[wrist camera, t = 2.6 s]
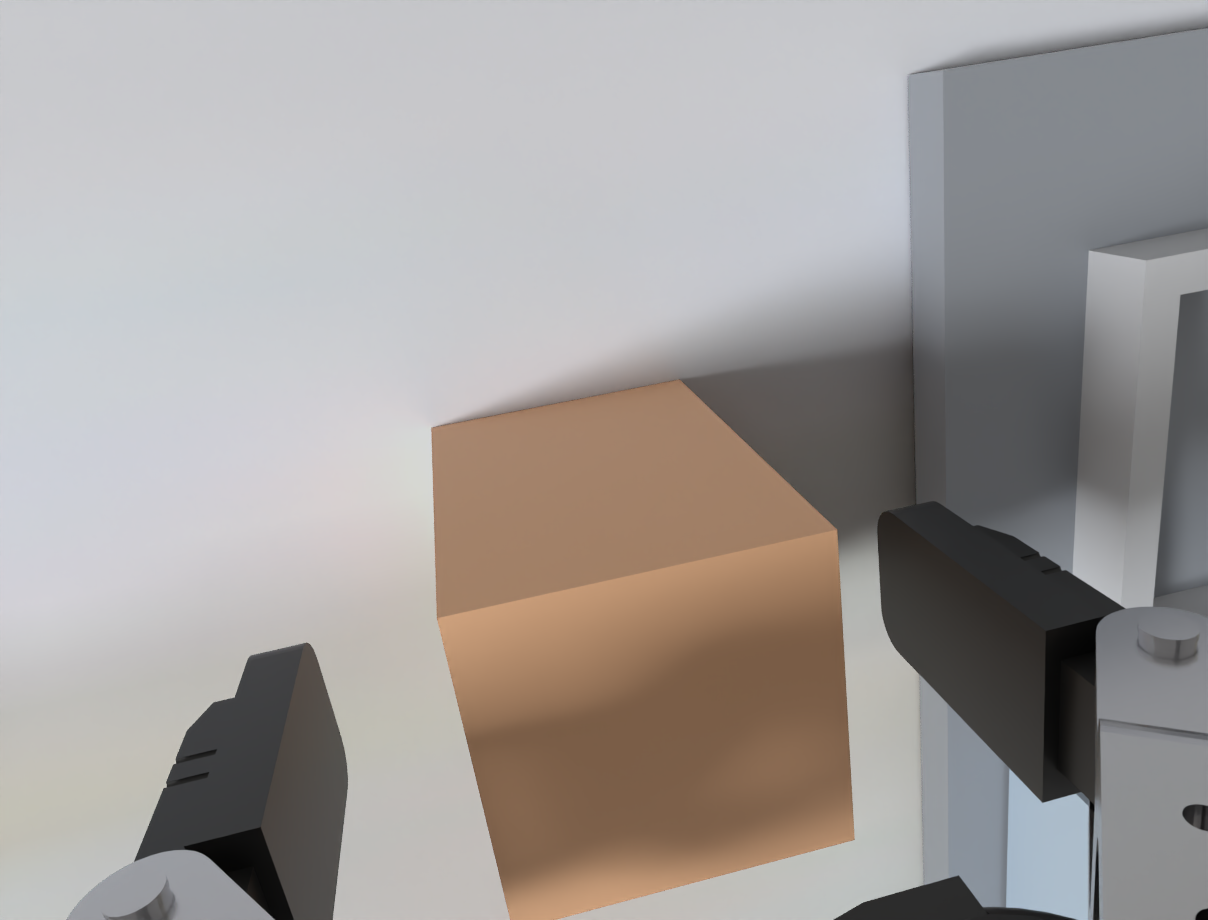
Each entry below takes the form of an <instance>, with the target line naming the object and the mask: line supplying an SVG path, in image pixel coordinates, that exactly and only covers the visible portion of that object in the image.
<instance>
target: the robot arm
mask: <svg viewBox="0 0 1208 920" xmlns="http://www.w3.org/2000/svg"><path fill="white" fill-rule="evenodd" d="M877 534H878V553H879V572H880V591H881V608H882V616H883V620H884V624H885V628H886V631H887V633H888V636H889V638H890V640H891V642H892V644H893V645H894V647H895V648H896V650H897V651H898V652H899V653H900V655H901V656H902V657H903V658H904V659H905V660H906V661H907V662H908V663H909V664H910V665H911V666H912V667H913V668H914V669H915V670H916V671H917V672H918V673H919V674H920V675H921V676H922V678H923V679H924V680H925V681H926V682H927V683H928V684H929V685H930V686H931V687H932V688H933V689H934V690H935V691H936V692H937V693H938V694H939V695H940V696H941V697H942V698H943V699H944V701H945V702H946V703H947V704H948V705H949V706H950V707H951V708H952V709H953V710H954V711H955V712H956V713H957V714H958V715H959V716H960V717H961V718H962V719H963V720H964V721H965V723H966V724H967V725H968V726H969V727H970V728H971V729H972V730H973V731H974V732H975V733H976V734H977V735H978V736H979V737H980V738H981V739H982V740H983V741H984V742H985V743H986V744H987V746H988V747H989V748H990V749H991V750H992V751H993V752H994V753H995V754H996V755H997V756H998V757H999V758H1000V759H1001V760H1002V761H1003V762H1004V763H1005V764H1006V765H1007V766H1008V767H1009V769H1010V770H1011V771H1012V772H1013V773H1014V774H1015V775H1016V776H1017V777H1018V778H1019V779H1020V780H1021V781H1022V782H1023V783H1024V784H1025V785H1026V786H1027V787H1028V788H1029V789H1030V790H1031V792H1032V793H1033V794H1034V795H1035V796H1036V797H1037V798H1038V799H1039V800H1040V801H1041V802H1042V803H1044V802H1048V801H1051V800H1055V799H1058V798H1062V797H1066V796H1069V795H1073V794H1076V793H1080V792H1082V793H1083V794H1084V795H1085V796H1086V797H1087V798H1088V799H1089V810H1088V920H1208V617H1205V616H1203V615H1200V614H1196V613H1193V612H1189V611H1185V610H1180V609H1174V608H1166V607H1134V608H1128V609H1126V608H1124V607H1123V606H1121V605H1119V604H1118V603H1116V602H1115V601H1113V600H1112V599H1110V598H1109V597H1107V596H1106V595H1104V594H1102V593H1101V592H1099V591H1098V590H1096V589H1095V588H1093V587H1092V586H1090V585H1089V584H1087V583H1085V582H1084V581H1082V580H1081V579H1079V578H1078V577H1076V576H1075V575H1073V574H1072V573H1070V572H1068V571H1067V570H1063V571H1062V570H1061V566H1059V565H1058V564H1056V563H1054V562H1053V561H1051V560H1050V559H1048V558H1047V557H1045V556H1042V557H1041V556H1040V554H1039V552H1037V551H1036V550H1034V549H1033V548H1031V547H1030V546H1028V545H1027V544H1025V543H1024V542H1022V541H1020V540H1019V539H1017V538H1016V537H1014V536H1012V535H1008V534H1005V533H1002V532H999V531H996V530H993V529H989V528H986V527H983V526H980V525H976V526H972V525H971V524H969V523H968V522H966V521H965V520H964V519H962V518H961V517H959V516H958V515H956V514H955V513H953V512H952V511H950V510H949V509H947V508H946V507H944V506H943V505H941V504H940V503H938V502H936V501H930V502H925V503H921V504H916V505H912V506H908V507H903V508H899V509H895V510H890V511H886V512H883V513H882V514H881V515H880V517H879V520H878V527H877ZM166 783H167V788H164V789H163V791H162V794H161V796H160V799H159V801H158V804H157V806H156V809H155V811H154V814H153V816H152V819H151V821H150V824H149V826H148V829H147V831H146V834H145V836H144V838H143V841H142V843H141V846H140V848H139V851H138V853H137V856H136V858H135V861H134V862H133V863H131V864H129V865H127V866H125V867H123V868H122V869H120V870H118V871H117V872H115V873H113V874H112V875H110V876H109V877H107V878H106V879H105V880H103V881H102V882H100V883H99V884H98V885H97V886H96V887H94V888H93V889H92V890H91V891H90V892H89V893H88V894H87V895H86V896H85V897H84V898H83V899H82V900H81V901H80V902H79V903H78V904H77V905H76V907H75V908H74V909H73V910H72V912H71V913H70V915H69V916H68V918H67V920H333V911H334V902H335V894H336V885H337V876H338V868H339V859H340V850H341V842H342V833H343V824H344V815H345V807H346V798H347V789H348V773H347V763H346V757H345V751H344V746H343V742H342V738H341V735H340V732H339V729H338V725H337V722H336V719H335V716H334V712H333V709H332V706H331V702H330V699H329V696H328V693H327V689H326V686H325V683H324V680H323V676H322V673H321V670H320V667H319V663H318V660H317V657H316V655H315V652H314V650H313V648H312V647H311V645H310V644H309V643H304V644H299V645H295V646H291V647H286V648H282V649H277V650H273V651H269V652H264V653H260V654H256V655H252V656H250V657H249V658H248V660H247V663H246V666H245V669H244V672H243V675H242V678H241V681H240V684H239V687H238V690H237V692H236V695H235V698H231V699H227V700H222V701H218V702H214V703H213V704H212V705H211V706H210V707H209V708H208V709H207V710H206V711H205V712H204V713H203V714H202V715H201V716H200V718H199V719H198V720H197V721H196V722H195V723H194V724H193V725H192V726H191V727H190V728H189V729H188V730H187V732H186V735H185V737H184V740H183V742H182V744H181V747H180V749H179V752H178V754H177V757H176V764H174V765H173V767H172V769H171V772H170V774H169V777H168V779H167V782H166ZM834 920H1076V919H1073V918H1069V917H1065V916H1061V915H1057V914H1052V913H1048V912H1042V911H1036V910H1029V909H1023V908H1008V907H982V906H981V904H980V903H979V902H978V900H977V899H976V898H975V896H974V895H973V894H972V892H971V891H970V889H969V888H968V887H967V885H966V884H965V883H964V881H963V880H962V879H961V877H960V876H959V875H958V876H954V877H951V878H947V879H944V880H940V881H937V882H933V883H930V884H926V885H923V886H919V887H916V888H912V889H909V890H906V891H902V892H899V893H895V894H892V895H888V896H885V897H881V898H878V899H874V900H871V901H867V902H864V903H862V904H860V905H858V906H856V907H855V908H853V909H851V910H850V911H848V912H846V913H844V914H843V915H841V916H839V917H838V918H836V919H834Z"/></svg>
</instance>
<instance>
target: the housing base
mask: <svg viewBox="0 0 1208 920" xmlns="http://www.w3.org/2000/svg"><path fill="white" fill-rule="evenodd" d="M908 118H909V168H910V218H911V268H912V318H913V368H914V418H915V468H916V504H921V503H925V502H930V501H936V502H938V503H940V504H941V505H943V506H944V507H946V508H947V509H949V510H950V511H952V512H953V513H955V514H956V515H958V516H959V517H961V518H962V519H964V520H965V521H966V522H968V523H969V524H971V525H972V526H976V525H980V526H983V527H986V528H989V529H993V530H996V531H999V532H1002V533H1005V534H1008V535H1012V536H1014V537H1016V538H1017V539H1019V540H1020V541H1022V542H1024V543H1025V544H1027V545H1028V546H1030V547H1031V548H1033V549H1034V550H1036V551H1037V552H1039V554H1040V556H1041V557H1042V556H1045V557H1047V558H1048V559H1050V560H1051V561H1053V562H1054V563H1056V564H1058V565H1059V566H1061V570H1062V571H1063V570H1067V571H1068V572H1070V573H1072V574H1073V575H1075V576H1076V577H1078V578H1079V579H1081V580H1082V581H1084V582H1085V583H1087V584H1089V585H1090V586H1092V587H1093V588H1095V589H1096V590H1098V591H1099V592H1101V593H1102V594H1104V595H1106V596H1107V597H1109V598H1110V599H1112V600H1113V601H1115V602H1116V603H1118V604H1119V605H1121V606H1123V607H1124V608H1126V609H1128V608H1134V607H1166V608H1174V609H1180V610H1185V611H1189V612H1193V613H1196V614H1200V615H1203V616H1205V617H1208V28H1202V29H1195V30H1189V31H1183V32H1176V33H1170V34H1164V35H1157V36H1151V37H1145V38H1138V39H1132V40H1126V41H1119V42H1113V43H1107V44H1100V45H1094V46H1087V47H1081V48H1075V49H1068V50H1062V51H1056V52H1049V53H1043V54H1037V55H1030V56H1024V57H1018V58H1011V59H1005V60H999V61H992V62H986V63H979V64H973V65H967V66H960V67H954V68H948V69H941V70H935V71H929V72H922V73H916V74H910V75H908ZM920 719H921V769H922V819H923V869H924V885H926V884H930V883H933V882H937V881H940V880H944V879H947V878H951V877H954V876H958V875H959V876H960V877H961V879H962V880H963V881H964V883H965V884H966V885H967V887H968V888H969V889H970V891H971V892H972V894H973V895H974V896H975V898H976V899H977V900H978V902H979V903H980V904H981V906H982V907H1006V889H1007V847H1008V805H1009V767H1008V766H1007V765H1006V764H1005V763H1004V762H1003V761H1002V760H1001V759H1000V758H999V757H998V756H997V755H996V754H995V753H994V752H993V751H992V750H991V749H990V748H989V747H988V746H987V744H986V743H985V742H984V741H983V740H982V739H981V738H980V737H979V736H978V735H977V734H976V733H975V732H974V731H973V730H972V729H971V728H970V727H969V726H968V725H967V724H966V723H965V721H964V720H963V719H962V718H961V717H960V716H959V715H958V714H957V713H956V712H955V711H954V710H953V709H952V708H951V707H950V706H949V705H948V704H947V703H946V702H945V701H944V699H943V698H942V697H941V696H940V695H939V694H938V693H937V692H936V691H935V690H934V689H933V688H932V687H931V686H930V685H929V684H928V683H927V682H926V681H925V680H924V679H923V678H922V676H921V675H920Z"/></svg>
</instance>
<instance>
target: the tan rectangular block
mask: <svg viewBox="0 0 1208 920" xmlns="http://www.w3.org/2000/svg"><path fill="white" fill-rule="evenodd" d="M431 432H432V466H433V499H434V533H435V567H436V601H437V620H438V624H439V628H440V633H441V637H442V641H443V645H444V649H445V653H446V657H447V661H448V665H449V670H450V674H451V678H452V682H453V686H454V690H455V694H456V698H457V702H458V707H459V711H460V715H461V719H462V723H463V727H464V731H465V735H466V739H467V744H468V748H469V752H470V756H471V760H472V764H473V768H474V772H475V776H476V781H477V785H478V789H479V793H480V797H481V801H482V805H483V809H484V813H485V818H486V822H487V826H488V830H489V834H490V838H491V842H492V846H493V850H494V855H495V859H496V863H497V867H498V871H499V875H500V879H501V883H502V887H503V892H504V896H505V900H506V904H507V908H508V912H509V916H510V920H556V919H560V918H563V917H567V916H571V915H575V914H578V913H582V912H586V911H590V910H593V909H597V908H601V907H605V906H608V905H612V904H616V903H620V902H623V901H627V900H631V899H635V898H638V897H642V896H646V895H650V894H653V893H657V892H661V891H665V890H668V889H672V888H676V887H680V886H683V885H687V884H691V883H695V882H698V881H702V880H706V879H710V878H713V877H717V876H721V875H725V874H728V873H732V872H736V871H740V870H743V869H747V868H751V867H755V866H758V865H762V864H766V863H770V862H773V861H777V860H781V859H785V858H788V857H792V856H796V855H800V854H803V853H807V852H811V851H815V850H818V849H822V848H826V847H830V846H833V845H837V844H841V843H845V842H848V841H852V840H855V839H854V821H853V803H852V785H851V768H850V750H849V732H848V714H847V696H846V678H845V660H844V642H843V624H842V607H841V589H840V571H839V553H838V535H837V529H836V528H835V527H834V526H833V525H832V524H831V523H830V522H829V521H828V520H826V519H825V518H824V517H823V516H822V515H821V514H820V513H819V512H818V511H817V510H816V509H815V508H814V507H813V506H812V505H811V504H810V503H809V502H808V501H807V500H806V499H804V498H803V497H802V496H801V495H800V494H799V493H798V492H797V491H796V490H795V489H794V488H793V487H792V486H791V485H790V484H789V483H788V482H787V481H786V480H785V479H783V478H782V477H781V476H780V475H779V474H778V473H777V472H776V471H775V470H774V469H773V468H772V467H771V466H770V465H769V464H768V463H767V462H766V461H765V460H764V459H762V458H761V457H760V456H759V455H758V454H757V453H756V452H755V451H754V450H753V449H752V448H751V447H750V446H749V445H748V444H747V443H746V442H745V441H744V440H743V439H741V438H740V437H739V436H738V435H737V434H736V433H735V432H734V431H733V430H732V429H731V428H730V427H729V426H728V425H727V424H726V423H725V422H724V421H723V420H722V419H720V418H719V417H718V416H717V415H716V414H715V413H714V412H713V411H712V410H711V409H710V408H709V407H708V406H707V405H706V404H705V403H704V402H703V401H702V400H701V399H699V398H698V397H697V396H696V395H695V394H694V393H693V392H692V391H691V390H690V389H689V388H688V387H687V386H686V385H685V384H684V383H683V382H682V381H681V380H680V379H679V380H674V381H669V382H664V383H659V384H654V385H648V386H643V387H638V388H633V389H628V390H623V391H618V392H612V393H607V394H602V395H597V396H592V397H587V398H582V399H577V400H571V401H566V402H561V403H556V404H551V405H546V406H541V407H535V408H530V409H525V410H520V411H515V412H510V413H505V414H500V415H494V416H489V417H484V418H479V419H474V420H469V421H464V422H458V423H453V424H448V425H443V426H438V427H433V428H431Z"/></svg>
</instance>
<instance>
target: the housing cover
mask: <svg viewBox="0 0 1208 920" xmlns="http://www.w3.org/2000/svg"><path fill="white" fill-rule="evenodd" d="M1088 810H1089V799H1088V798H1087V797H1086V796H1085V795H1084V794H1083V793H1082V792H1080V793H1076V794H1073V795H1069V796H1066V797H1062V798H1058V799H1055V800H1051V801H1048V802H1044V803H1042V802H1041V801H1040V800H1039V799H1038V798H1037V797H1036V796H1035V795H1034V794H1033V793H1032V792H1031V790H1030V789H1029V788H1028V787H1027V786H1026V785H1025V784H1024V783H1023V782H1022V781H1021V780H1020V779H1019V778H1018V777H1017V776H1016V775H1015V774H1014V773H1013V772H1012V771H1011V770H1010V769H1009V805H1008V847H1007V889H1006V907H1008V908H1023V909H1029V910H1036V911H1042V912H1048V913H1052V914H1057V915H1061V916H1065V917H1069V918H1073V919H1076V920H1088Z"/></svg>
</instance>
